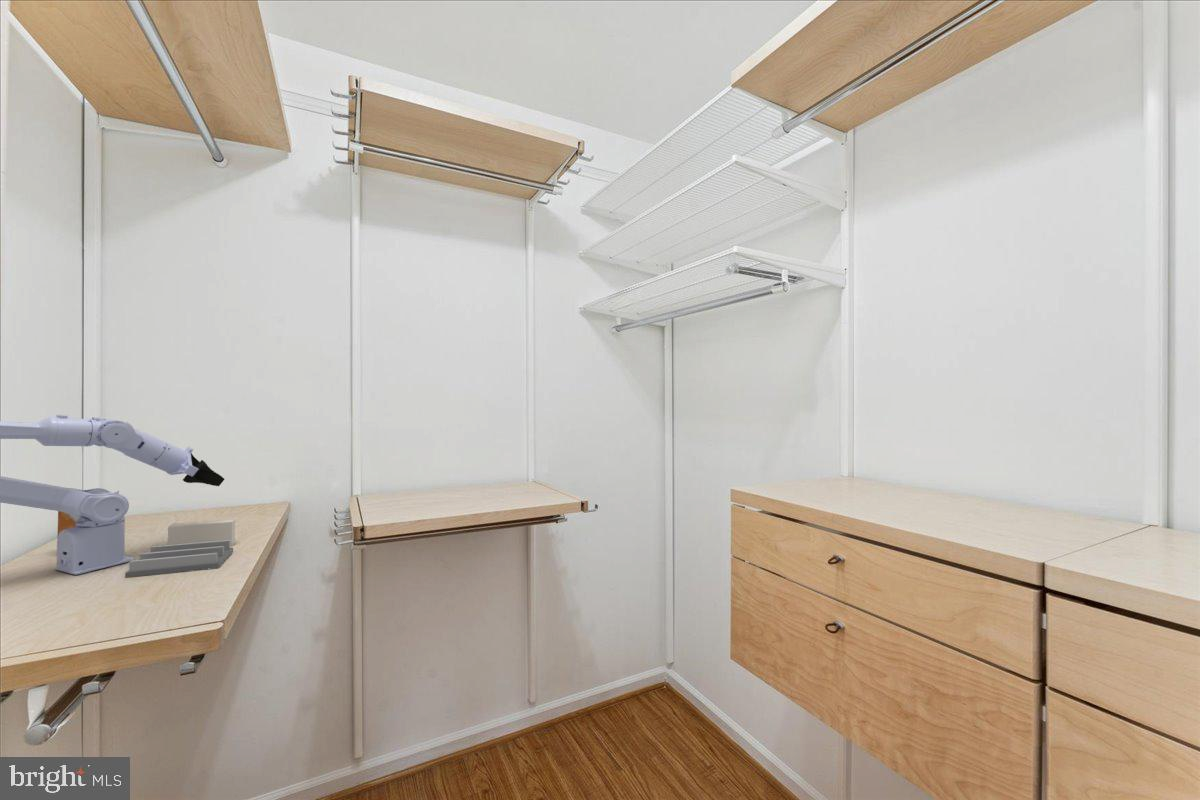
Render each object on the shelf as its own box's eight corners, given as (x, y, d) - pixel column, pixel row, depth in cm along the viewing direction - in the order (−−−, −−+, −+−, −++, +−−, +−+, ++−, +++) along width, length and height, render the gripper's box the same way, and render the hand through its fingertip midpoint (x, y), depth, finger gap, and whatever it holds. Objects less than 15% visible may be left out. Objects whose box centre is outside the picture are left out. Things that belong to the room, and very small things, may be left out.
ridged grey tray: (125, 577, 95) (125, 562, 95) (149, 559, 105) (149, 546, 105) (218, 568, 101) (218, 553, 101) (233, 551, 111) (233, 539, 111)
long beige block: (167, 552, 111) (168, 526, 111) (172, 549, 113) (172, 523, 113) (231, 546, 116) (232, 521, 116) (234, 543, 118) (235, 519, 118)
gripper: (180, 444, 107) (238, 471, 117) (160, 432, 115) (216, 457, 125) (155, 472, 104) (217, 497, 114) (137, 457, 112) (196, 481, 122)
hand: (215, 478), depth 120 cm, fingers open, 7 cm apart
